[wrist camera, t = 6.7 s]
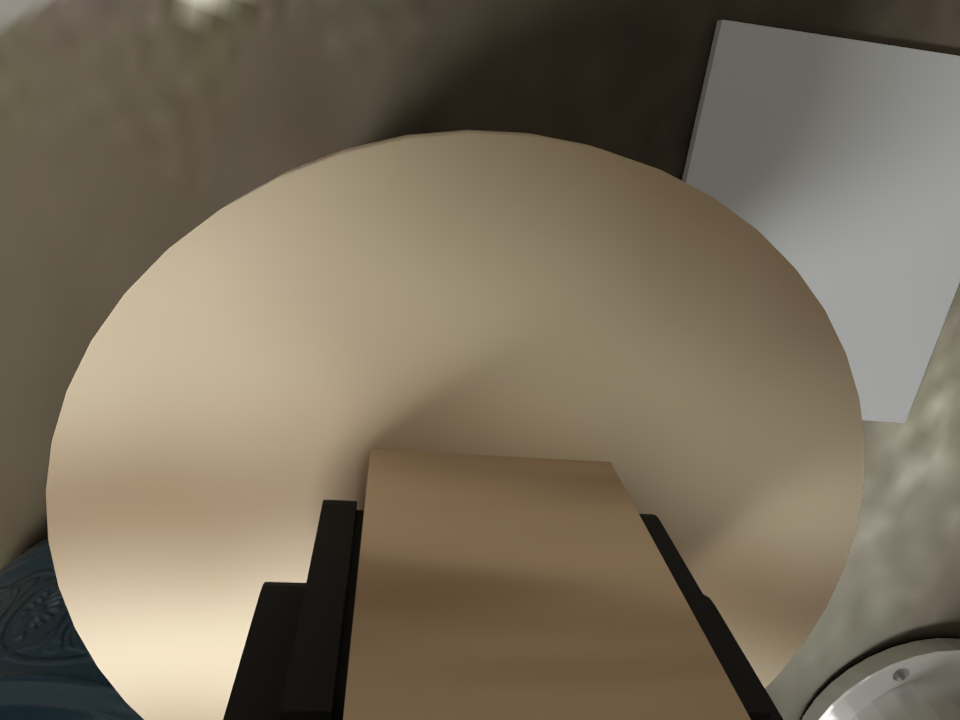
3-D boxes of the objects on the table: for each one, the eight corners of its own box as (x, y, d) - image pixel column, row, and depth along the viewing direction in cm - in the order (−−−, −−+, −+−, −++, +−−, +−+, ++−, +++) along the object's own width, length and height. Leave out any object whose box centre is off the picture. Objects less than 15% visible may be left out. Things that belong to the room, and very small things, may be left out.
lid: (727, 777, 16) (941, 1235, 10) (108, 783, 14) (-140, 1363, 8) (942, 184, 11) (1689, 316, 5) (26, 70, 9) (-883, 27, 3)
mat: (1032, 69, 24) (1042, 68, 24) (898, 418, 29) (905, 423, 29) (717, 20, 22) (722, 19, 22) (633, 399, 27) (636, 403, 27)
